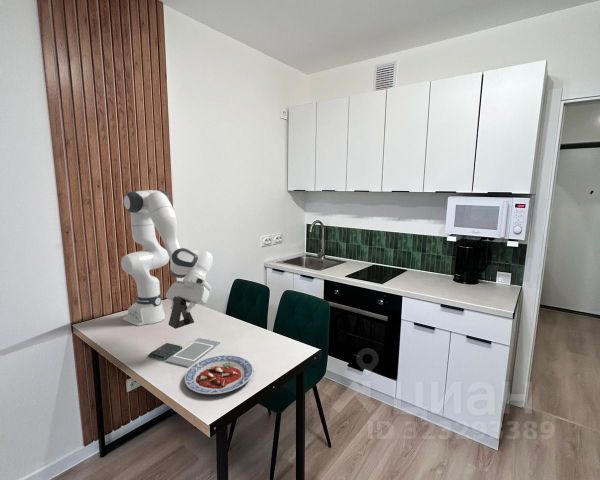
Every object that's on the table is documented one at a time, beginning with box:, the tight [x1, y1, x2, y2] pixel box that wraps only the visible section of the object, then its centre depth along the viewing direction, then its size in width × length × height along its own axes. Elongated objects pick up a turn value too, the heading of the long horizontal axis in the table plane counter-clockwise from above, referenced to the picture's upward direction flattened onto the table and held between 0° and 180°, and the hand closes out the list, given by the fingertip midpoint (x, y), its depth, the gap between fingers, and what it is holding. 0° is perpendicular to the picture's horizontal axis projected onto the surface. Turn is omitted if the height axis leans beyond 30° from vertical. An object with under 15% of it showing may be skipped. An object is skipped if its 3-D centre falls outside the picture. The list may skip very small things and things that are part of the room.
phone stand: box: [168, 296, 195, 330], centre depth 143 cm, size 9×6×12 cm, turn 136°
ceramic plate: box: [184, 354, 254, 395], centre depth 128 cm, size 26×26×3 cm
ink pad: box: [147, 342, 183, 362], centre depth 146 cm, size 9×11×2 cm
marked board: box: [164, 337, 221, 369], centre depth 147 cm, size 12×22×1 cm, turn 159°
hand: (179, 310), depth 142 cm, fingers closed on phone stand, 6 cm apart
